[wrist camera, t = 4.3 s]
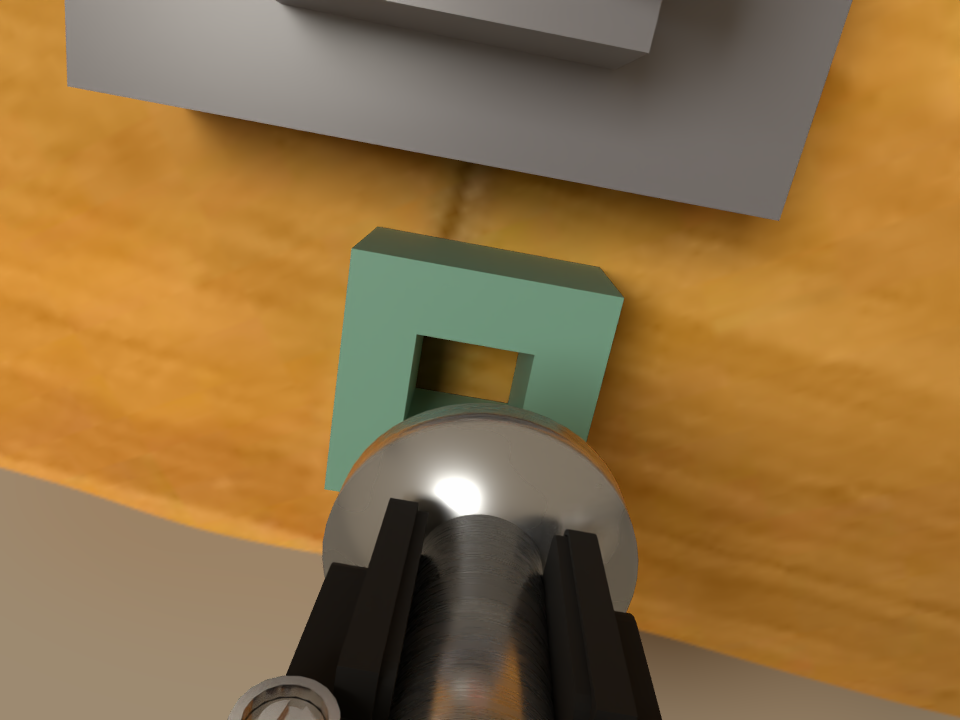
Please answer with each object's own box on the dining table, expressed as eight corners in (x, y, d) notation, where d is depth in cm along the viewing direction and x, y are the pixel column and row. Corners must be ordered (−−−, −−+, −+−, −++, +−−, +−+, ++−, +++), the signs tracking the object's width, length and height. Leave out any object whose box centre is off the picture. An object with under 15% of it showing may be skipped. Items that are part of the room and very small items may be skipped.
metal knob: (626, 362, 16) (914, 913, 5) (572, 560, 18) (683, 1277, 7) (388, 319, 16) (101, 779, 5) (360, 523, 18) (112, 1194, 7)
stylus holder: (599, 267, 23) (624, 298, 19) (551, 462, 26) (563, 528, 21) (377, 226, 23) (351, 248, 18) (352, 429, 25) (324, 489, 21)
